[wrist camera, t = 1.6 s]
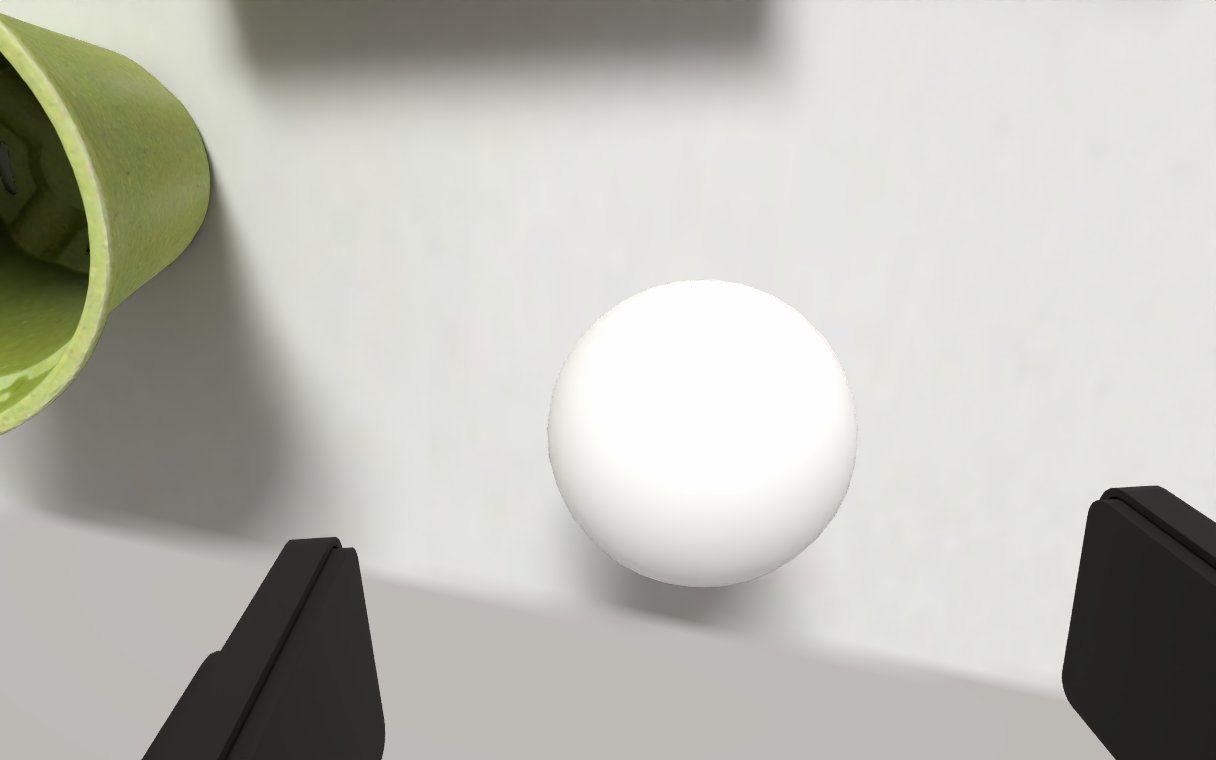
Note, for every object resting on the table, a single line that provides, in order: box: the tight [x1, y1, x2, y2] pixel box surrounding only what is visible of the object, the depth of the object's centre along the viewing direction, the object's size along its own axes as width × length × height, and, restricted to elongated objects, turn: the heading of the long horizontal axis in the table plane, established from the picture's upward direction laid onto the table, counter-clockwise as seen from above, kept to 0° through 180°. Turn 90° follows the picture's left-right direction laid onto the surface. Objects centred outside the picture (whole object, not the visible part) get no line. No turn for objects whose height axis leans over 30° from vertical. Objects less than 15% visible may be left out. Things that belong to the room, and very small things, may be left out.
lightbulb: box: [547, 280, 858, 587], centre depth 19 cm, size 6×6×11 cm
